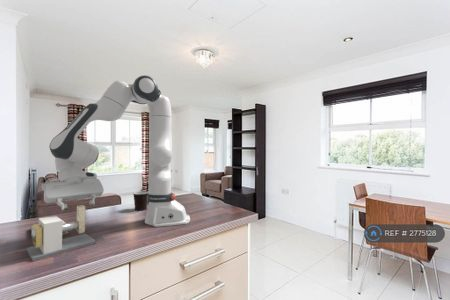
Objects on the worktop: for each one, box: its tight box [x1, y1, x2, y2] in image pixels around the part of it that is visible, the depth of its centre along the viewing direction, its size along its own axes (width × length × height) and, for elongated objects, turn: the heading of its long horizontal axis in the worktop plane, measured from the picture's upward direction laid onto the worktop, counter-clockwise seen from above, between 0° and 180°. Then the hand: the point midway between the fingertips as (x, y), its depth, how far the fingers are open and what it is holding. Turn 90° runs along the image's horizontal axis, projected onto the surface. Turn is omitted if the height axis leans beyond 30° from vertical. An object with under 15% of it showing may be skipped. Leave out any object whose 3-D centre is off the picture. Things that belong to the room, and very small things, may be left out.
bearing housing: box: [26, 215, 97, 262], centre depth 81 cm, size 18×11×11 cm, turn 139°
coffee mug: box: [133, 191, 148, 212], centre depth 131 cm, size 12×9×10 cm
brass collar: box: [31, 223, 42, 248], centre depth 75 cm, size 2×6×6 cm, turn 50°
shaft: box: [31, 204, 86, 240], centre depth 80 cm, size 15×3×10 cm, turn 139°
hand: (79, 207), depth 87 cm, fingers open, 8 cm apart
